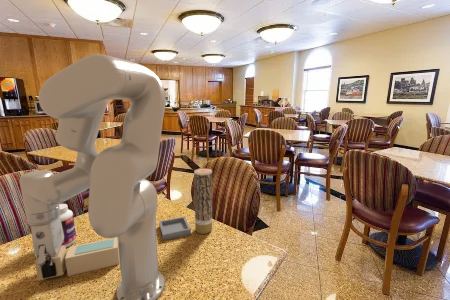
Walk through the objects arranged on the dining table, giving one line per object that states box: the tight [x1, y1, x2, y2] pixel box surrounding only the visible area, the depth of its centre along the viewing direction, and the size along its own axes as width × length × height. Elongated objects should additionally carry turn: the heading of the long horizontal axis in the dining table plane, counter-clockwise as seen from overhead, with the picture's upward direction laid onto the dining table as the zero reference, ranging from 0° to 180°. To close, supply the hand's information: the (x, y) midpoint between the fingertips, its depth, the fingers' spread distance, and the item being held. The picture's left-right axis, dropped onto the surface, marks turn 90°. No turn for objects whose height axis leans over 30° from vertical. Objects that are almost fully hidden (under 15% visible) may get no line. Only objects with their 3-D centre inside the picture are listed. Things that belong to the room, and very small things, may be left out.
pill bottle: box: [59, 203, 77, 248], centre depth 82 cm, size 8×8×14 cm
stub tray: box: [158, 216, 192, 241], centre depth 93 cm, size 11×11×2 cm
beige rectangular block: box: [65, 237, 120, 277], centre depth 73 cm, size 6×14×6 cm, turn 112°
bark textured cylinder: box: [193, 167, 213, 235], centre depth 91 cm, size 7×7×25 cm
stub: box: [34, 245, 67, 282], centre depth 69 cm, size 6×6×6 cm
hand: (53, 268), depth 69 cm, fingers closed on stub, 6 cm apart
